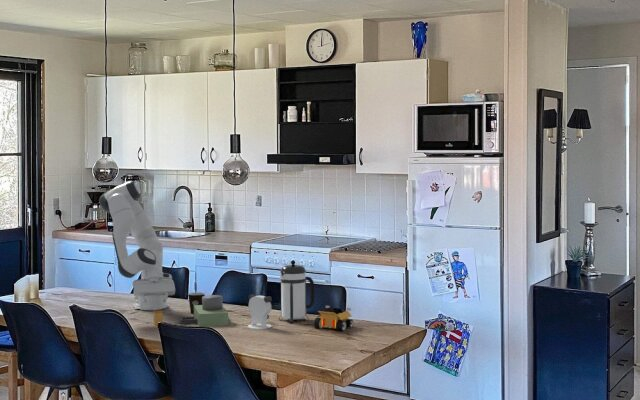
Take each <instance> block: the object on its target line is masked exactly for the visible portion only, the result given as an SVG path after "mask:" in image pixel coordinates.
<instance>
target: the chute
mask: <svg viewBox="0 0 640 400" xmlns="http://www.w3.org/2000/svg"><path fill="white" fill-rule="evenodd" d="M163 314H164V312H163V309H158V310H153V327H154V329H158V328H157V323H158V322H163V323H164V318H163V317H164V316H163Z"/></svg>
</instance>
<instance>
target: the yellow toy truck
mask: <svg viewBox="0 0 640 400" xmlns="http://www.w3.org/2000/svg"><path fill="white" fill-rule="evenodd" d="M349 311H352V308H351V307H346V310H344V309H341V308H337V307H333V308H332V307H330V305H325V311H323V310H322V311H321V310H318V311H317V312H318V313H319V315H317V316H316V318H315V319H314V321H313V327H314V328H315V329H323V328H325V329H326V328H327V329H336V331H338V332H345V331H346V329H347V328H348V327H352V326H353V327H354V320H353V318H352V319H351V317H352V315H351V313H350V312H349ZM353 327H352V328H353Z"/></svg>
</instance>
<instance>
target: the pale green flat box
mask: <svg viewBox="0 0 640 400" xmlns="http://www.w3.org/2000/svg"><path fill="white" fill-rule="evenodd" d="M223 300H224V297H223V296H222V295H219V294H218V295H217V294H209V295H205V296H203V297H202V305H194V314H193V316H191V315H190V316H180V317H179V323H180V325H189V324H197V326H198V327H211V326H212V327H213V326H215V327H216V326H228V325H229V312H228V311H227V309H226V308H225V307H224V306H223V302H224V301H223Z"/></svg>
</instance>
